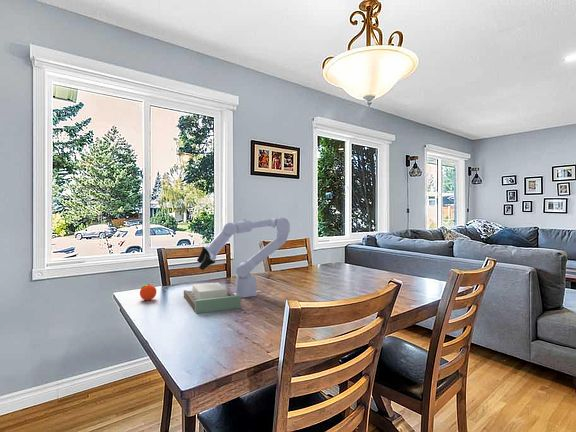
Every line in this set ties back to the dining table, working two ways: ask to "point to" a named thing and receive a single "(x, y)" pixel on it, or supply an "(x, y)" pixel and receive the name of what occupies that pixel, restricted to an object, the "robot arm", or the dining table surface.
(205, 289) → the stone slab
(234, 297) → the bar
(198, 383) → the dining table surface
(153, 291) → the clementine
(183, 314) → the dining table surface
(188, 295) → the roller track
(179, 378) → the dining table surface
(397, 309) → the dining table surface
